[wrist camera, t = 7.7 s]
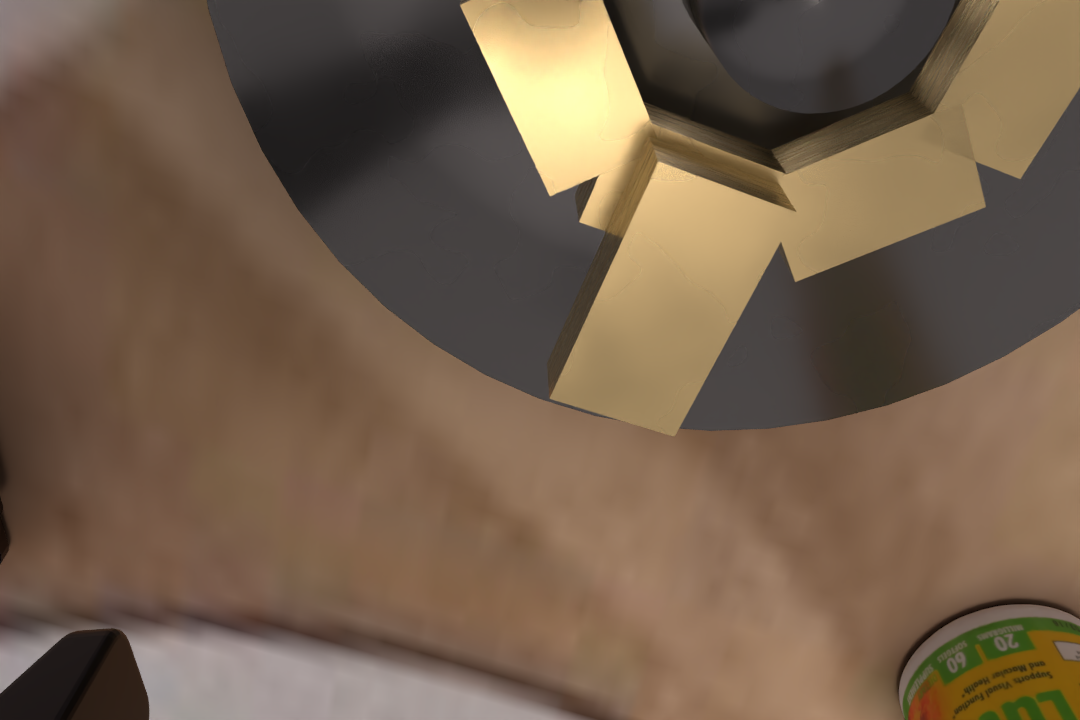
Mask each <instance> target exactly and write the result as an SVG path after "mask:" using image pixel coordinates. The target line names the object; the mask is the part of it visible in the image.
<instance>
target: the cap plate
mask: <svg viewBox="0 0 1080 720" xmlns="http://www.w3.org/2000/svg"><path fill="white" fill-rule="evenodd" d="M460 1H461V0H207V4H208V9H209V12H210V16H211V19H212V22H213V25H214V28H215V32H216V35H217V38H218V41H219V44H220V48H221V51H222V54H223V57H224V60H225V64H226V67H227V70H228V73H229V76H230V80H231V83H232V85H233V87H234V90H235V92H236V94H237V96H238V98H239V101H240V103H241V105H242V107H243V110H244V112H245V114H246V116H247V118H248V121H249V123H250V125H251V127H252V129H253V132H254V134H255V136H256V138H257V141H258V143H259V145H260V147H261V149H262V151H263V153H264V154H265V156H266V158H267V159H268V161H269V163H270V164H271V166H272V168H273V169H274V171H275V173H276V174H277V176H278V177H279V179H280V181H281V182H282V184H283V186H284V187H285V189H286V191H287V192H288V194H289V196H290V197H291V199H292V200H293V202H294V204H295V205H296V207H297V209H298V210H299V211H300V213H301V214H302V215H303V216H304V218H305V219H306V220H307V221H308V223H309V224H310V225H311V227H312V228H313V229H314V230H315V232H316V233H317V234H318V235H319V237H320V238H321V239H322V240H323V242H324V243H325V244H326V245H327V247H328V248H329V249H330V251H331V252H332V253H333V254H334V256H335V257H336V258H337V259H338V261H339V262H340V263H341V264H342V265H343V266H344V267H345V268H346V269H347V270H348V271H349V272H350V273H351V274H352V275H353V276H354V277H355V278H356V279H357V280H358V281H359V282H360V283H361V284H362V285H364V286H365V287H366V288H367V289H368V290H369V291H370V292H371V293H372V294H373V295H374V296H375V297H376V298H377V299H378V300H379V301H380V302H381V303H382V304H383V305H384V306H385V307H386V308H387V309H389V310H390V311H391V312H393V313H394V314H395V315H397V316H398V317H399V318H400V319H402V320H403V321H404V322H406V323H407V324H408V325H409V326H411V327H412V328H413V329H415V330H416V331H417V332H419V333H420V334H421V335H422V336H424V337H425V338H426V339H428V340H429V341H430V342H432V343H433V344H434V345H436V346H438V347H439V348H441V349H443V350H444V351H446V352H448V353H449V354H451V355H453V356H455V357H456V358H458V359H460V360H461V361H463V362H465V363H466V364H468V365H470V366H471V367H473V368H475V369H476V370H478V371H480V372H482V373H483V374H485V375H487V376H489V377H492V378H494V379H496V380H498V381H501V382H503V383H505V384H507V385H510V386H512V387H514V388H516V389H519V390H521V391H523V392H526V393H528V394H530V395H532V396H535V397H537V398H539V399H542V400H545V401H549V402H552V403H555V404H558V405H562V406H565V407H568V408H571V409H575V410H578V411H581V412H584V413H588V414H591V415H594V416H599V417H604V418H610V419H614V418H611V417H608V416H604V415H601V414H598V413H595V412H591V411H588V410H585V409H581V408H578V407H575V406H572V405H568V404H565V403H562V402H558V401H555V400H552V399H549V385H548V371H547V362H548V360H549V357H550V355H551V353H552V351H553V348H554V346H555V344H556V342H557V340H558V337H559V335H560V333H561V331H562V328H563V326H564V324H565V322H566V319H567V317H568V315H569V313H570V311H571V308H572V306H573V304H574V302H575V299H576V297H577V295H578V293H579V291H580V288H581V286H582V284H583V282H584V279H585V277H586V275H587V273H588V271H589V268H590V266H591V264H592V262H593V259H594V257H595V255H596V253H597V250H598V248H599V246H600V244H601V242H602V239H603V237H604V235H605V233H606V231H603V230H600V229H597V228H595V227H592V226H589V225H586V224H583V223H580V222H579V219H578V213H577V206H576V200H575V194H576V191H577V189H578V187H579V184H577V185H575V186H573V187H571V188H568V189H566V190H564V191H561V192H559V193H557V194H554V195H552V196H550V195H549V193H548V191H547V189H546V187H545V185H544V183H543V180H542V178H541V176H540V174H539V172H538V170H537V168H536V166H535V164H534V161H533V159H532V157H531V155H530V153H529V151H528V149H527V147H526V144H525V142H524V140H523V138H522V136H521V134H520V132H519V130H518V127H517V125H516V123H515V121H514V119H513V117H512V115H511V113H510V110H509V108H508V106H507V104H506V102H505V100H504V98H503V96H502V93H501V91H500V89H499V87H498V85H497V83H496V81H495V79H494V77H493V74H492V72H491V70H490V68H489V66H488V64H487V62H486V60H485V57H484V55H483V53H482V51H481V49H480V47H479V45H478V43H477V40H476V38H475V36H474V34H473V32H472V30H471V28H470V26H469V23H468V21H467V19H466V17H465V15H464V13H463V11H462V9H461V7H460ZM960 1H961V0H603V3H604V5H605V8H606V10H607V13H608V15H609V18H610V20H611V23H612V25H613V28H614V30H615V33H616V35H617V38H618V40H619V43H620V45H621V48H622V50H623V53H624V55H625V58H626V60H627V63H628V65H629V68H630V70H631V73H632V75H633V78H634V80H635V83H636V85H637V88H638V90H639V93H640V95H641V98H642V100H643V102H645V103H648V104H651V105H653V106H656V107H659V108H661V109H664V110H667V111H669V112H672V113H675V114H677V115H680V116H683V117H685V118H688V119H690V120H693V121H696V122H698V123H701V124H704V125H706V126H709V127H712V128H714V129H717V130H720V131H722V132H725V133H728V134H730V135H733V136H735V137H738V138H741V139H743V140H746V141H749V142H751V143H754V144H757V145H759V146H762V147H765V148H767V149H770V150H772V149H774V148H777V147H779V146H781V145H784V144H786V143H789V142H791V141H793V140H796V139H798V138H800V137H803V136H805V135H808V134H810V133H812V132H815V131H817V130H819V129H822V128H824V127H827V126H829V125H831V124H834V123H836V122H839V121H841V120H843V119H846V118H848V117H850V116H853V115H855V114H858V113H860V112H862V111H865V110H867V109H869V108H872V107H874V106H877V105H879V104H881V103H884V102H886V101H888V100H891V99H893V98H896V97H898V96H900V95H903V94H905V93H908V92H909V91H910V89H911V87H912V86H913V84H914V82H915V80H916V78H917V77H918V75H919V73H920V71H921V70H922V68H923V66H924V64H925V63H926V61H927V59H928V57H929V56H930V54H931V52H932V50H933V49H934V47H935V45H936V43H937V41H938V40H939V38H940V36H941V34H942V33H943V31H944V29H945V27H946V26H947V24H948V22H949V20H950V19H951V17H952V15H953V13H954V12H955V10H956V8H957V6H958V4H959V3H960ZM976 166H977V171H978V175H979V179H980V184H981V188H982V192H983V196H984V201H985V205H986V207H985V208H982V209H980V210H977V211H974V212H972V213H969V214H967V215H964V216H962V217H959V218H957V219H954V220H952V221H949V222H947V223H944V224H941V225H939V226H936V227H934V228H931V229H929V230H926V231H924V232H921V233H919V234H916V235H913V236H911V237H908V238H906V239H903V240H901V241H898V242H896V243H893V244H891V245H888V246H886V247H883V248H880V249H878V250H875V251H873V252H870V253H868V254H865V255H863V256H860V257H858V258H855V259H853V260H850V261H847V262H845V263H842V264H840V265H837V266H835V267H832V268H830V269H827V270H825V271H822V272H819V273H817V274H814V275H812V276H809V277H807V278H804V279H802V280H799V281H797V282H795V280H794V279H793V277H792V275H791V273H790V271H789V269H788V268H787V266H786V264H785V262H784V260H783V258H782V256H781V255H780V253H779V250H778V248H777V250H776V251H775V253H774V255H773V257H772V259H771V261H770V262H769V264H768V266H767V268H766V270H765V272H764V273H763V275H762V277H761V279H760V281H759V283H758V284H757V286H756V288H755V290H754V292H753V294H752V295H751V297H750V299H749V301H748V303H747V305H746V306H745V308H744V310H743V312H742V314H741V316H740V317H739V319H738V321H737V323H736V325H735V327H734V328H733V330H732V332H731V334H730V336H729V338H728V339H727V341H726V343H725V345H724V347H723V349H722V351H721V352H720V354H719V356H718V358H717V360H716V362H715V363H714V365H713V367H712V369H711V371H710V373H709V374H708V376H707V378H706V380H705V382H704V384H703V385H702V387H701V389H700V391H699V393H698V395H697V396H696V398H695V400H694V402H693V404H692V406H691V407H690V409H689V411H688V413H687V415H686V417H685V418H684V420H683V422H682V424H681V426H680V428H681V429H695V430H709V431H714V430H741V429H768V428H776V427H783V426H790V425H797V424H804V423H811V422H818V421H825V420H830V419H834V418H838V417H842V416H846V415H850V414H854V413H858V412H862V411H866V410H870V409H874V408H878V407H882V406H886V405H889V404H892V403H895V402H898V401H900V400H903V399H906V398H909V397H911V396H914V395H917V394H920V393H922V392H925V391H928V390H931V389H934V388H936V387H939V386H942V385H945V384H947V383H949V382H951V381H953V380H955V379H958V378H960V377H962V376H964V375H966V374H968V373H970V372H972V371H974V370H976V369H979V368H981V367H983V366H985V365H987V364H989V363H991V362H993V361H995V360H997V359H1000V358H1002V357H1004V356H1005V355H1007V354H1009V353H1010V352H1012V351H1014V350H1015V349H1017V348H1019V347H1020V346H1022V345H1024V344H1025V343H1027V342H1029V341H1030V340H1032V339H1034V338H1035V337H1037V336H1039V335H1040V334H1042V333H1044V332H1045V331H1047V330H1049V329H1050V328H1052V327H1054V326H1055V325H1057V324H1059V323H1060V322H1062V321H1063V320H1065V319H1066V318H1067V317H1069V316H1070V315H1071V314H1073V313H1074V312H1075V311H1077V310H1078V309H1079V308H1080V88H1079V90H1078V91H1077V93H1076V94H1075V96H1074V97H1073V99H1072V100H1071V102H1070V104H1069V105H1068V107H1067V108H1066V110H1065V111H1064V113H1063V114H1062V116H1061V117H1060V119H1059V120H1058V122H1057V123H1056V125H1055V127H1054V128H1053V130H1052V131H1051V133H1050V134H1049V136H1048V137H1047V139H1046V140H1045V142H1044V143H1043V145H1042V147H1041V148H1040V150H1039V151H1038V153H1037V154H1036V156H1035V157H1034V159H1033V160H1032V162H1031V163H1030V165H1029V167H1028V168H1027V170H1026V171H1025V173H1024V174H1023V176H1022V177H1021V179H1019V178H1016V177H1014V176H1011V175H1008V174H1006V173H1003V172H1001V171H998V170H996V169H993V168H991V167H988V166H986V165H983V164H981V163H978V162H976ZM615 420H617V419H615ZM620 421H621V420H620Z"/></svg>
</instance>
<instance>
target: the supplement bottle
mask: <svg viewBox="0 0 1080 720" xmlns="http://www.w3.org/2000/svg"><path fill="white" fill-rule="evenodd" d="M899 701H900V706H901V709H902V712H903V715H904V718H905V720H1080V619H1078V618H1076V617H1075V616H1073V615H1071V614H1069V613H1066V612H1064V611H1061V610H1058V609H1055V608H1051V607H1046V606H1041V605H1030V604H1013V605H1003V606H996V607H991V608H987V609H983V610H980V611H977V612H974V613H971V614H968V615H965V616H962V617H960V618H958V619H956V620H954V621H952V622H951V623H949V624H947V625H946V626H944V627H942V628H941V629H939V630H938V631H937V632H935V633H934V634H933V635H932V636H931V637H929V638H928V639H927V640H926V641H925V642H924V643H923V644H922V645H921V646H920V647H919V648H918V649H917V650H916V651H915V653H914V654H913V655H912V657H911V658H910V660H909V661H908V663H907V665H906V667H905V669H904V671H903V674H902V676H901V680H900V686H899Z"/></svg>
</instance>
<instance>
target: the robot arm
mask: <svg viewBox="0 0 1080 720" xmlns="http://www.w3.org/2000/svg"><path fill="white" fill-rule="evenodd" d="M2 510H3V505H2V502H1V498H0V514H1V512H2ZM8 551H9V548H8V541H7V538H6V534H5V531H4V527H3V524H2V521H1V517H0V564H1V562H2V561H3V559H4V557H5V556H6V554H7V552H8ZM0 720H149V701H148V696H147V692H146V689H145V686H144V684H143V681H142V678H141V675H140V672H139V669H138V666H137V663H136V660H135V657H134V655H133V652H132V649H131V646H130V643H129V641H128V639H127V637H126V635H125V634H124V633H123V632H122V631H121V630H118V629H114V628H111V629H97V630H83V631H75V632H72V633H70V634H68V635H66V636H65V637H63V638H62V639H61V640H60V641H58V642H57V643H56V644H55V645H54V646H53V647H52V648H51V649H50V650H48V651H47V652H46V653H45V654H44V655H43V656H42V657H41V658H40V659H38V660H37V661H36V662H35V663H34V664H33V665H32V666H31V667H30V668H28V669H27V670H26V671H25V672H24V673H23V674H22V675H21V676H20V677H18V678H17V679H16V680H15V681H14V682H13V683H12V684H11V685H10V686H8V687H7V688H6V689H5V690H4V691H3V692H2V693H1V694H0Z"/></svg>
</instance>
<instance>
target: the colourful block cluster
mask: <svg viewBox="0 0 1080 720" xmlns="http://www.w3.org/2000/svg"><path fill="white" fill-rule="evenodd" d="M460 7H461V9H462V11H463V13H464V15H465V17H466V19H467V21H468V23H469V26H470V28H471V30H472V32H473V34H474V36H475V38H476V40H477V43H478V45H479V47H480V49H481V51H482V53H483V55H484V57H485V60H486V62H487V64H488V66H489V68H490V70H491V72H492V74H493V77H494V79H495V81H496V83H497V85H498V87H499V89H500V91H501V93H502V96H503V98H504V100H505V102H506V104H507V106H508V108H509V110H510V113H511V115H512V117H513V119H514V121H515V123H516V125H517V127H518V130H519V132H520V134H521V136H522V138H523V140H524V142H525V144H526V147H527V149H528V151H529V153H530V155H531V157H532V159H533V161H534V164H535V166H536V168H537V170H538V172H539V174H540V176H541V178H542V180H543V183H544V185H545V187H546V189H547V191H548V193H549V195H550V196H552V195H554V194H557V193H559V192H561V191H564V190H566V189H568V188H571V187H573V186H575V185H577V184H579V187H578V189H577V191H576V194H575V200H576V206H577V213H578V219H579V222H580V223H583V224H586V225H589V226H592V227H595V228H597V229H600V230H603V231H606V233H605V235H604V237H603V239H602V242H601V244H600V246H599V248H598V250H597V253H596V255H595V257H594V259H593V262H592V264H591V266H590V268H589V271H588V273H587V275H586V277H585V279H584V282H583V284H582V286H581V288H580V291H579V293H578V295H577V297H576V299H575V302H574V304H573V306H572V308H571V311H570V313H569V315H568V317H567V319H566V322H565V324H564V326H563V328H562V331H561V333H560V335H559V337H558V340H557V342H556V344H555V346H554V348H553V351H552V353H551V355H550V357H549V360H548V362H547V371H548V385H549V399H552V400H555V401H558V402H562V403H565V404H568V405H572V406H575V407H578V408H581V409H585V410H588V411H591V412H595V413H598V414H601V415H604V416H608V417H611V418H614V419H617V420H621V421H624V422H627V423H631V424H634V425H637V426H640V427H644V428H647V429H650V430H654V431H657V432H660V433H663V434H667V435H670V436H673V437H675V435H676V433H677V431H678V429H679V428H680V426H681V424H682V422H683V420H684V418H685V417H686V415H687V413H688V411H689V409H690V407H691V406H692V404H693V402H694V400H695V398H696V396H697V395H698V393H699V391H700V389H701V387H702V385H703V384H704V382H705V380H706V378H707V376H708V374H709V373H710V371H711V369H712V367H713V365H714V363H715V362H716V360H717V358H718V356H719V354H720V352H721V351H722V349H723V347H724V345H725V343H726V341H727V339H728V338H729V336H730V334H731V332H732V330H733V328H734V327H735V325H736V323H737V321H738V319H739V317H740V316H741V314H742V312H743V310H744V308H745V306H746V305H747V303H748V301H749V299H750V297H751V295H752V294H753V292H754V290H755V288H756V286H757V284H758V283H759V281H760V279H761V277H762V275H763V273H764V272H765V270H766V268H767V266H768V264H769V262H770V261H771V259H772V257H773V255H774V253H775V251H776V250H777V248H778V250H779V253H780V255H781V256H782V258H783V260H784V262H785V264H786V266H787V268H788V269H789V271H790V273H791V275H792V277H793V279H794V280H795V282H797V281H799V280H802V279H804V278H807V277H809V276H812V275H814V274H817V273H819V272H822V271H825V270H827V269H830V268H832V267H835V266H837V265H840V264H842V263H845V262H847V261H850V260H853V259H855V258H858V257H860V256H863V255H865V254H868V253H870V252H873V251H875V250H878V249H880V248H883V247H886V246H888V245H891V244H893V243H896V242H898V241H901V240H903V239H906V238H908V237H911V236H913V235H916V234H919V233H921V232H924V231H926V230H929V229H931V228H934V227H936V226H939V225H941V224H944V223H947V222H949V221H952V220H954V219H957V218H959V217H962V216H964V215H967V214H969V213H972V212H974V211H977V210H980V209H982V208H985V207H986V205H985V201H984V196H983V192H982V188H981V184H980V179H979V175H978V171H977V166H976V162H978V163H981V164H983V165H986V166H988V167H991V168H993V169H996V170H998V171H1001V172H1003V173H1006V174H1008V175H1011V176H1014V177H1016V178H1019V179H1021V177H1022V176H1023V174H1024V173H1025V171H1026V170H1027V168H1028V167H1029V165H1030V163H1031V162H1032V160H1033V159H1034V157H1035V156H1036V154H1037V153H1038V151H1039V150H1040V148H1041V147H1042V145H1043V143H1044V142H1045V140H1046V139H1047V137H1048V136H1049V134H1050V133H1051V131H1052V130H1053V128H1054V127H1055V125H1056V123H1057V122H1058V120H1059V119H1060V117H1061V116H1062V114H1063V113H1064V111H1065V110H1066V108H1067V107H1068V105H1069V104H1070V102H1071V100H1072V99H1073V97H1074V96H1075V94H1076V93H1077V91H1078V90H1079V88H1080V0H961V1H960V3H959V4H958V6H957V8H956V10H955V12H954V13H953V15H952V17H951V19H950V20H949V22H948V24H947V26H946V27H945V29H944V31H943V33H942V34H941V36H940V38H939V40H938V41H937V43H936V45H935V47H934V49H933V50H932V52H931V54H930V56H929V57H928V59H927V61H926V63H925V64H924V66H923V68H922V70H921V71H920V73H919V75H918V77H917V78H916V80H915V82H914V84H913V86H912V87H911V89H910V91H909V92H908V93H905V94H903V95H900V96H898V97H896V98H893V99H891V100H888V101H886V102H884V103H881V104H879V105H877V106H874V107H872V108H869V109H867V110H865V111H862V112H860V113H858V114H855V115H853V116H850V117H848V118H846V119H843V120H841V121H839V122H836V123H834V124H831V125H829V126H827V127H824V128H822V129H819V130H817V131H815V132H812V133H810V134H808V135H805V136H803V137H800V138H798V139H796V140H793V141H791V142H789V143H786V144H784V145H781V146H779V147H777V148H774V149H772V150H770V149H767V148H765V147H762V146H759V145H757V144H754V143H751V142H749V141H746V140H743V139H741V138H738V137H735V136H733V135H730V134H728V133H725V132H722V131H720V130H717V129H714V128H712V127H709V126H706V125H704V124H701V123H698V122H696V121H693V120H690V119H688V118H685V117H683V116H680V115H677V114H675V113H672V112H669V111H667V110H664V109H661V108H659V107H656V106H653V105H651V104H648V103H645V102H643V100H642V98H641V95H640V93H639V90H638V88H637V85H636V83H635V80H634V78H633V75H632V73H631V70H630V68H629V65H628V63H627V60H626V58H625V55H624V53H623V50H622V48H621V45H620V43H619V40H618V38H617V35H616V33H615V30H614V28H613V25H612V23H611V20H610V18H609V15H608V13H607V10H606V8H605V5H604V3H603V0H461V1H460Z"/></svg>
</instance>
